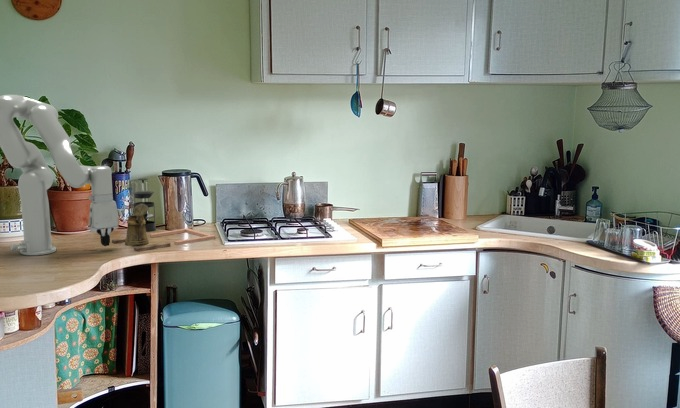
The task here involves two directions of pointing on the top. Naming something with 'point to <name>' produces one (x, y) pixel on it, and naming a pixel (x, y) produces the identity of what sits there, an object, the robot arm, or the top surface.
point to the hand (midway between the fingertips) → (105, 245)
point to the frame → (202, 238)
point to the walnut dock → (143, 248)
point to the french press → (147, 194)
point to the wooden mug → (137, 227)
